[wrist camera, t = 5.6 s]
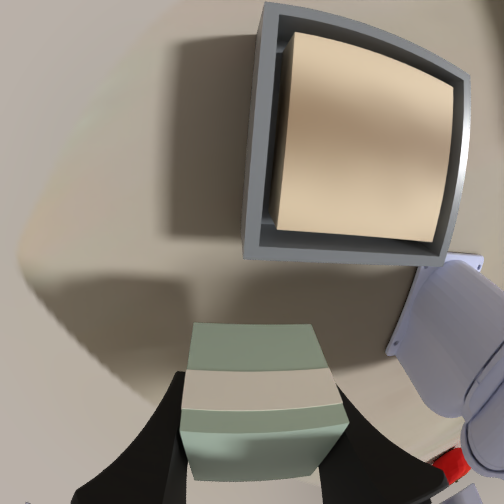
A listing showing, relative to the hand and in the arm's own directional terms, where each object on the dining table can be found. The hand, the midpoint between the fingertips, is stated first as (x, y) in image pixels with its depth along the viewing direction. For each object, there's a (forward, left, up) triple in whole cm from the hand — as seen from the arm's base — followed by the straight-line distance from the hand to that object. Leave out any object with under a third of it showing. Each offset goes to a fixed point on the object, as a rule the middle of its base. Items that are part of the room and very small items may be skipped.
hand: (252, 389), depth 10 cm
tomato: (-56, -60, -7) cm, 82 cm away
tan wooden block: (+10, -5, -6) cm, 13 cm away
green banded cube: (0, 0, -2) cm, 2 cm away
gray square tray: (+10, -5, -7) cm, 13 cm away
